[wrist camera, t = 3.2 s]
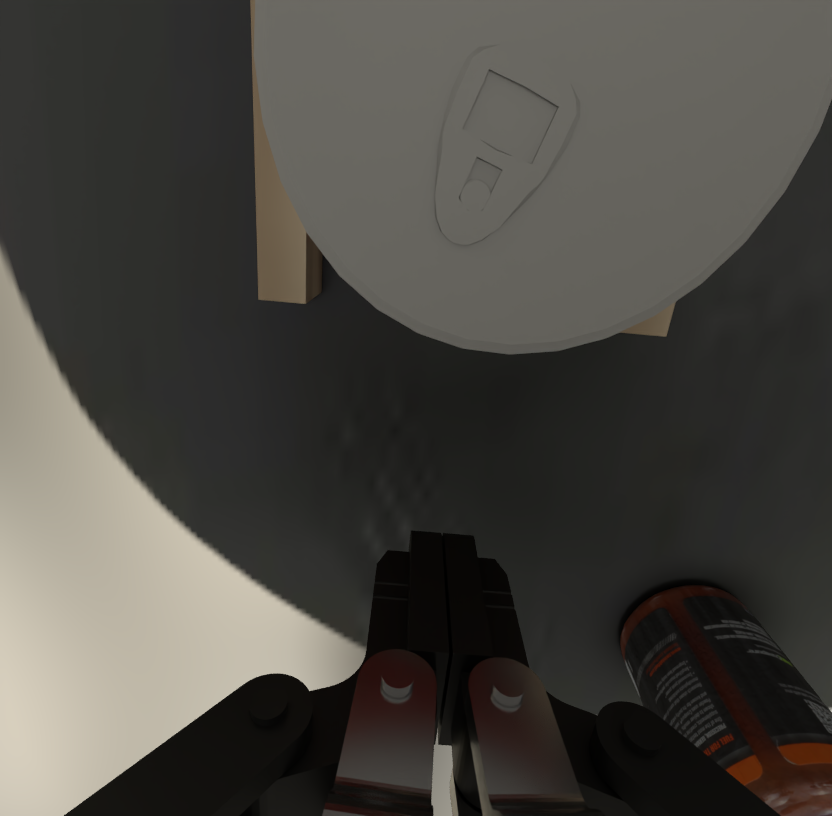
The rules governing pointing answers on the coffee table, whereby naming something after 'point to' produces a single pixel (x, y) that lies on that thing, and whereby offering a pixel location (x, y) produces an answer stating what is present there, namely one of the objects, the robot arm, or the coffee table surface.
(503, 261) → the canned food
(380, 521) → the coffee table surface
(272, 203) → the wooden bars
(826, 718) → the supplement bottle
